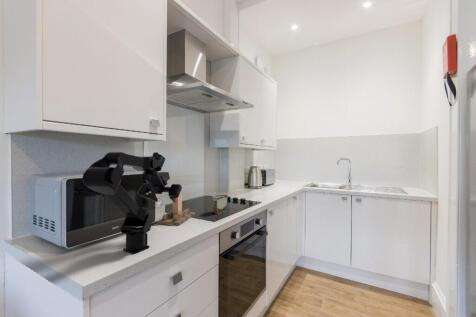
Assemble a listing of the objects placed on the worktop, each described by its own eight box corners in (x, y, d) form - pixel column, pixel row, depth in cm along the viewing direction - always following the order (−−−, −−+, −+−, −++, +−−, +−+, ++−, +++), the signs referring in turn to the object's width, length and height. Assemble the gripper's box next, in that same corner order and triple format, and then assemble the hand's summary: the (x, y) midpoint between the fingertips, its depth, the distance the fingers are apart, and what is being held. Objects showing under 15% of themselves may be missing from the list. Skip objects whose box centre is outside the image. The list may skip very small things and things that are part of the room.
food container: (219, 209, 142) (219, 193, 142) (227, 210, 139) (227, 194, 139) (207, 213, 131) (207, 196, 131) (216, 214, 128) (216, 197, 128)
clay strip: (178, 217, 116) (177, 193, 116) (172, 217, 117) (172, 193, 117) (181, 215, 121) (181, 191, 121) (176, 215, 122) (176, 191, 122)
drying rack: (179, 225, 108) (179, 217, 108) (157, 224, 110) (157, 216, 110) (194, 214, 128) (194, 208, 128) (175, 214, 130) (175, 207, 130)
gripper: (180, 166, 98) (189, 188, 108) (141, 166, 101) (154, 187, 111) (172, 185, 90) (183, 207, 100) (130, 185, 93) (145, 206, 103)
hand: (166, 201), depth 104 cm, fingers open, 9 cm apart
